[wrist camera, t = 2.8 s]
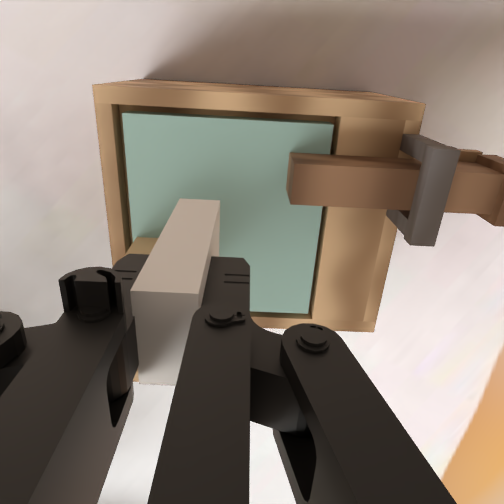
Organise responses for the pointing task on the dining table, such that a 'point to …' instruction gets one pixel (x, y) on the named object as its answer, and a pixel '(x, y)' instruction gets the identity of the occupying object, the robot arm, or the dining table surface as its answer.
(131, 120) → the lid
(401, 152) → the toolbox
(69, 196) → the dining table surface
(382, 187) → the block
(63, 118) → the dining table surface
